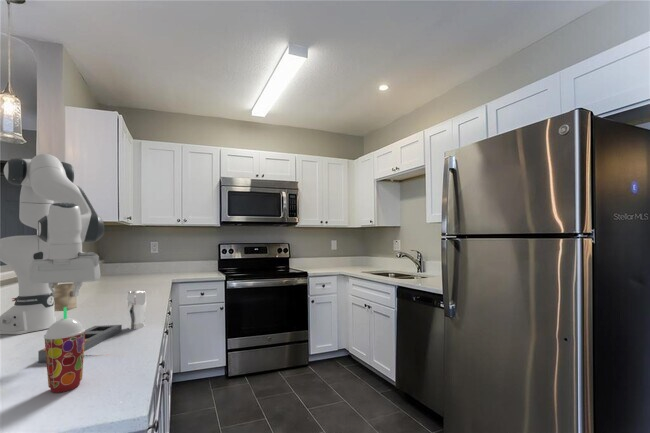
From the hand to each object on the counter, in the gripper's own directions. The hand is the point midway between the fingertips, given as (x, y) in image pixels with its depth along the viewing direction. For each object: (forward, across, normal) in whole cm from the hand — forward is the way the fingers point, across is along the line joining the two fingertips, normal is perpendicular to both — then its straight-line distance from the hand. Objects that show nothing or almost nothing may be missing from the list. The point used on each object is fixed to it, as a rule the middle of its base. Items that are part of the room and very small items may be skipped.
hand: (65, 296), depth 109 cm
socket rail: (+19, 0, -9) cm, 21 cm away
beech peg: (+4, 0, 0) cm, 4 cm away
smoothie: (+19, -16, +23) cm, 34 cm away
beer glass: (+19, -8, -28) cm, 35 cm away
